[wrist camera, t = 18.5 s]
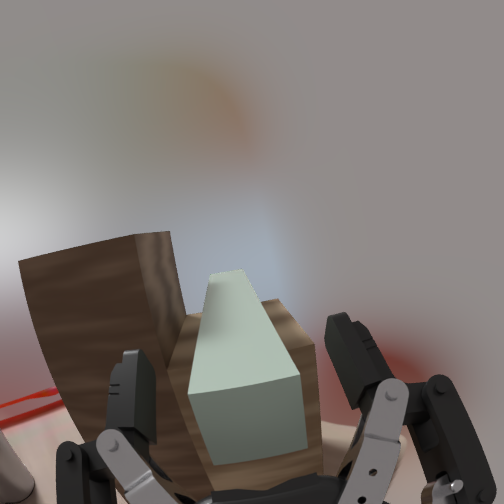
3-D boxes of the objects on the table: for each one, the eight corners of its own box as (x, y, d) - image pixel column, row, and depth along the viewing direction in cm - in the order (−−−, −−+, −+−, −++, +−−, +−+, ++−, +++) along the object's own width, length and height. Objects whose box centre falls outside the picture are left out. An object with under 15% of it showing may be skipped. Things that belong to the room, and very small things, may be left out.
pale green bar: (307, 448, 10) (300, 374, 9) (213, 465, 9) (187, 394, 9) (248, 300, 36) (242, 268, 35) (216, 305, 35) (210, 274, 35)
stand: (323, 499, 22) (296, 205, 19) (140, 518, 20) (18, 261, 17) (296, 433, 36) (264, 214, 33) (155, 452, 34) (86, 247, 31)
